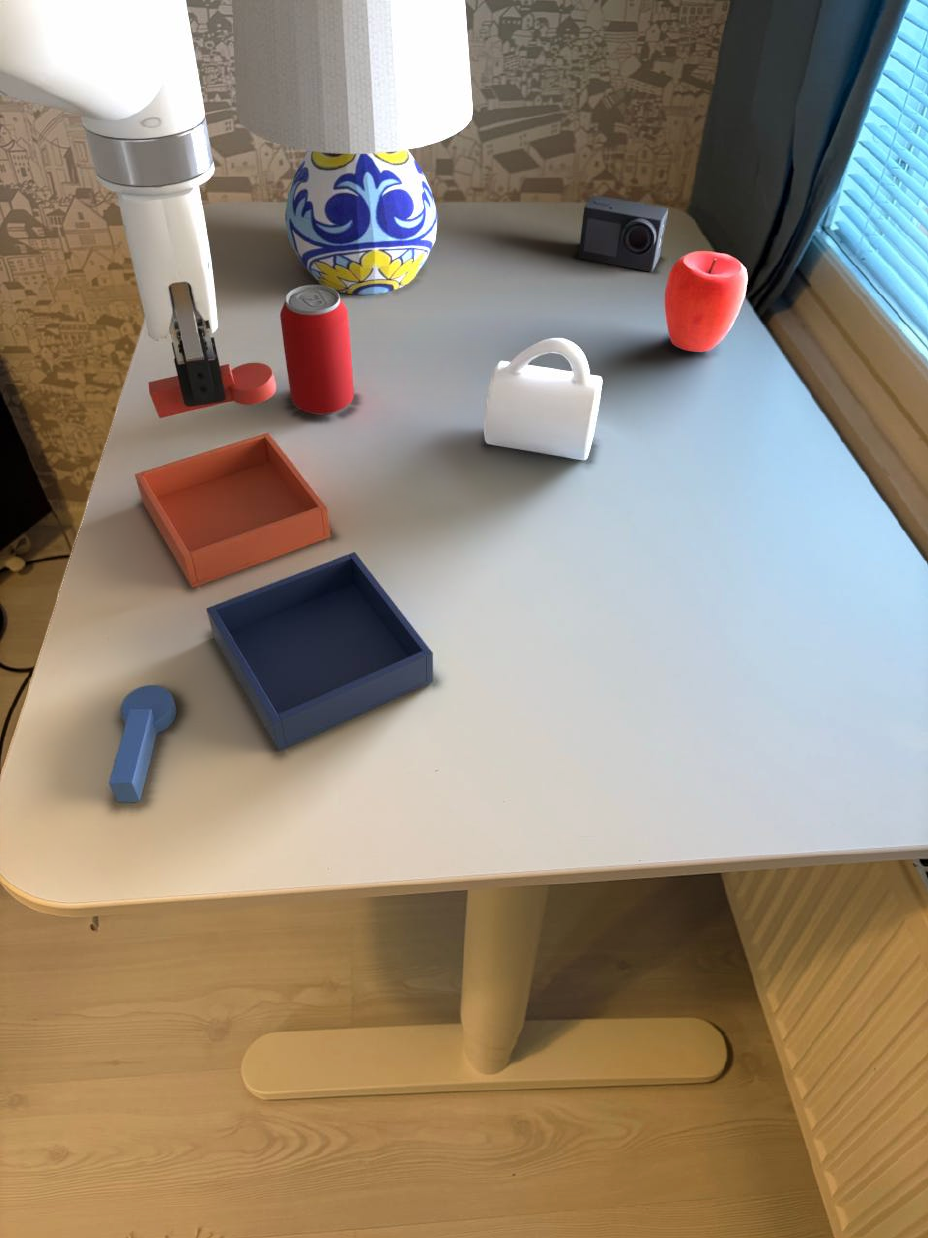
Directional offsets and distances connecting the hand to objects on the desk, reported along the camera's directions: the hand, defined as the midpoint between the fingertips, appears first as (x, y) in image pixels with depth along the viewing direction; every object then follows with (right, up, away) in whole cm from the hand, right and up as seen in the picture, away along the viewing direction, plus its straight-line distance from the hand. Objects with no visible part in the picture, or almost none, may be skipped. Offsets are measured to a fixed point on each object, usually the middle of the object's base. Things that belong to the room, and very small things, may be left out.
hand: (203, 392), depth 72 cm
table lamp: (+8, +28, +47) cm, 55 cm away
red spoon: (+1, 0, +1) cm, 1 cm away
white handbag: (+28, 0, +22) cm, 36 cm away
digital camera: (+41, +30, +51) cm, 72 cm away
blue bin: (+9, -21, +1) cm, 23 cm away
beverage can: (+5, +5, +26) cm, 27 cm away
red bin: (-1, -9, +13) cm, 15 cm away
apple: (+48, +14, +36) cm, 62 cm away
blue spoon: (-3, -27, -5) cm, 28 cm away
